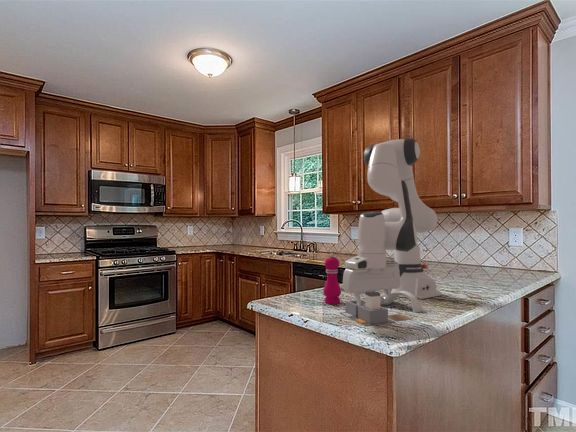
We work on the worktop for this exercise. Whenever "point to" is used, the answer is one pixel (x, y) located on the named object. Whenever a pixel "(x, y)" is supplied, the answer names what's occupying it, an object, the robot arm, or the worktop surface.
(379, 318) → the port box
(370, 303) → the plug
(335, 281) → the pepper mill
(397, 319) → the deck
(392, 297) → the grey curved arch
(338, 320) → the worktop surface
